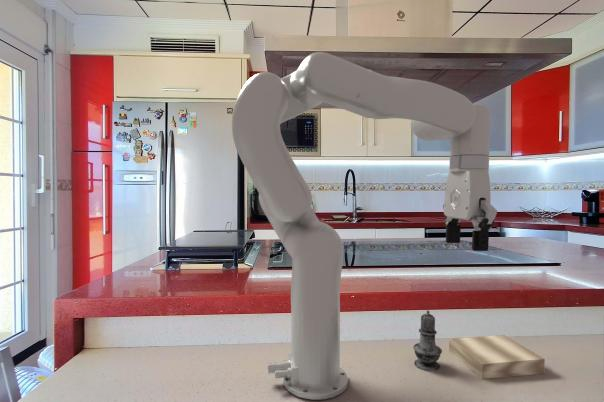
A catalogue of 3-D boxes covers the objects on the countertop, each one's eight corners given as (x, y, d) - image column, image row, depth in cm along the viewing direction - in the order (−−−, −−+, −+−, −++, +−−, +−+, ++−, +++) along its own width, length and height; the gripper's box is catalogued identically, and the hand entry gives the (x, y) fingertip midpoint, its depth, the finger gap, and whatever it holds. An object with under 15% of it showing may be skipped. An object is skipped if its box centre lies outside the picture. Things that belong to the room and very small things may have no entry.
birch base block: (481, 378, 73) (482, 364, 73) (448, 351, 85) (449, 338, 85) (544, 373, 75) (544, 358, 75) (503, 347, 87) (503, 334, 87)
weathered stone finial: (444, 373, 76) (445, 315, 75) (414, 370, 77) (415, 313, 76) (439, 359, 81) (440, 306, 81) (411, 357, 82) (412, 304, 82)
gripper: (431, 166, 85) (429, 240, 86) (477, 162, 68) (473, 254, 69) (461, 167, 86) (458, 240, 87) (514, 163, 69) (510, 254, 70)
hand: (465, 246), depth 78 cm, fingers open, 9 cm apart
